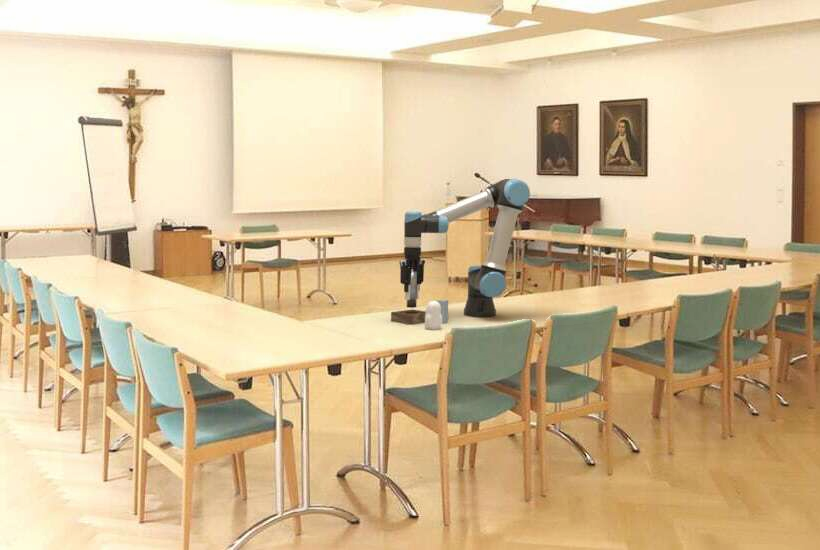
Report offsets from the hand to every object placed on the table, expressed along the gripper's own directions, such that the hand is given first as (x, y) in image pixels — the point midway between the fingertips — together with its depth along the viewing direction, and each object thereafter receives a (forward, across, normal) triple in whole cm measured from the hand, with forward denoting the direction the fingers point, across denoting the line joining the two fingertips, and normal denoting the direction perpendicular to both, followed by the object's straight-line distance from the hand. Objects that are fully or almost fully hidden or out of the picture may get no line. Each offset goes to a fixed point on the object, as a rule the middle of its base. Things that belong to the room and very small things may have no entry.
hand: (411, 298), depth 397 cm
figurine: (+10, +5, +19) cm, 23 cm away
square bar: (+10, -8, +11) cm, 17 cm away
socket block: (+10, 0, 0) cm, 10 cm away
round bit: (+4, 0, 0) cm, 4 cm away
